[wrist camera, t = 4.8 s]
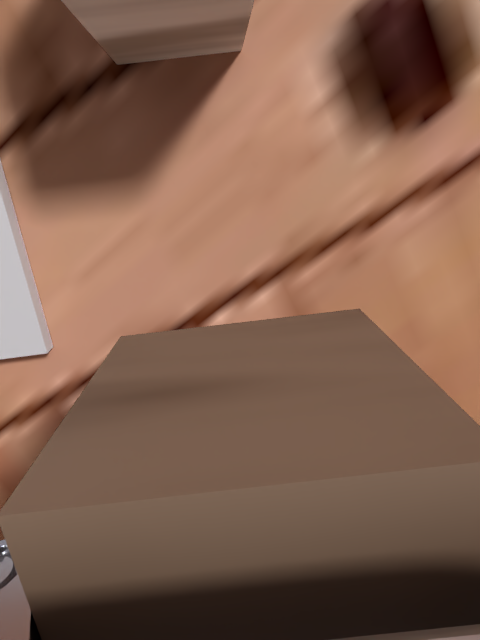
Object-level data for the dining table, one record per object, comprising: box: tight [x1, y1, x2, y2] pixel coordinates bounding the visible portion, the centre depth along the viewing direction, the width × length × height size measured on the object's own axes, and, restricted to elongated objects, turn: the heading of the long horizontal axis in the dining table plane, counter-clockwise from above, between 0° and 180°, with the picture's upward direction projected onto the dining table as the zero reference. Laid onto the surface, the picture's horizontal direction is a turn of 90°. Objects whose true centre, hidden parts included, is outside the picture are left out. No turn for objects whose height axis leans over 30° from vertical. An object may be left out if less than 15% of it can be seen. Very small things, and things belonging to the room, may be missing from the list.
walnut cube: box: [0, 309, 480, 640], centre depth 9 cm, size 6×6×6 cm
